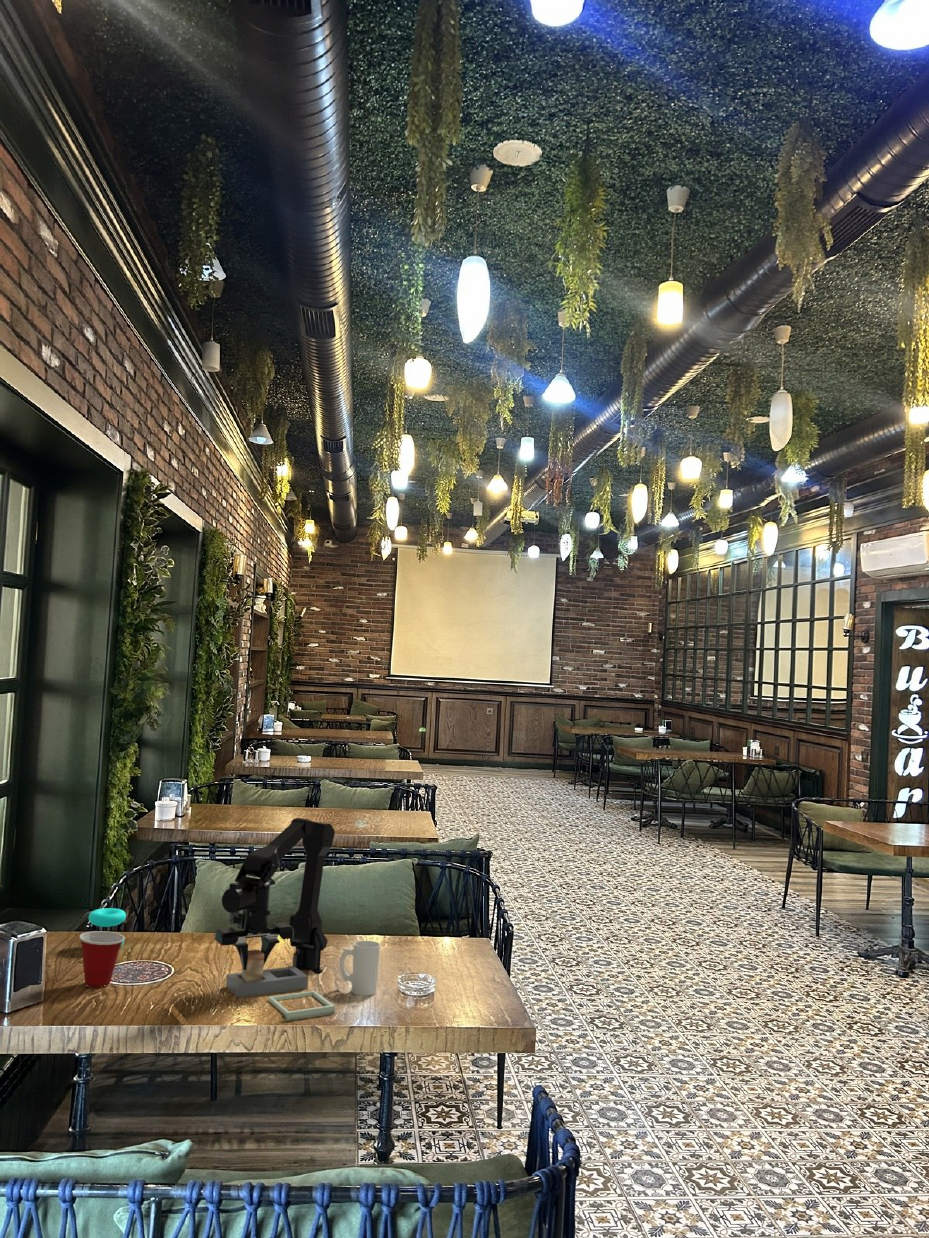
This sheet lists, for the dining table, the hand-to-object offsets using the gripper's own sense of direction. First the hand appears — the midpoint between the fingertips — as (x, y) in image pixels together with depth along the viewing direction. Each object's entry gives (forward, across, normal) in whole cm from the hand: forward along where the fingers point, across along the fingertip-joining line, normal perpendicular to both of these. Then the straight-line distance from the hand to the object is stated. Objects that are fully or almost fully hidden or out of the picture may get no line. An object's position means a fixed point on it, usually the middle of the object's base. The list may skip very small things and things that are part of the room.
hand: (252, 968), depth 233 cm
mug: (+6, -25, +9) cm, 27 cm away
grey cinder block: (+6, -4, 0) cm, 7 cm away
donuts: (+6, +24, -53) cm, 58 cm away
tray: (+6, -7, +15) cm, 18 cm away
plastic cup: (+6, +32, -21) cm, 39 cm away
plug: (+4, 0, 0) cm, 4 cm away
